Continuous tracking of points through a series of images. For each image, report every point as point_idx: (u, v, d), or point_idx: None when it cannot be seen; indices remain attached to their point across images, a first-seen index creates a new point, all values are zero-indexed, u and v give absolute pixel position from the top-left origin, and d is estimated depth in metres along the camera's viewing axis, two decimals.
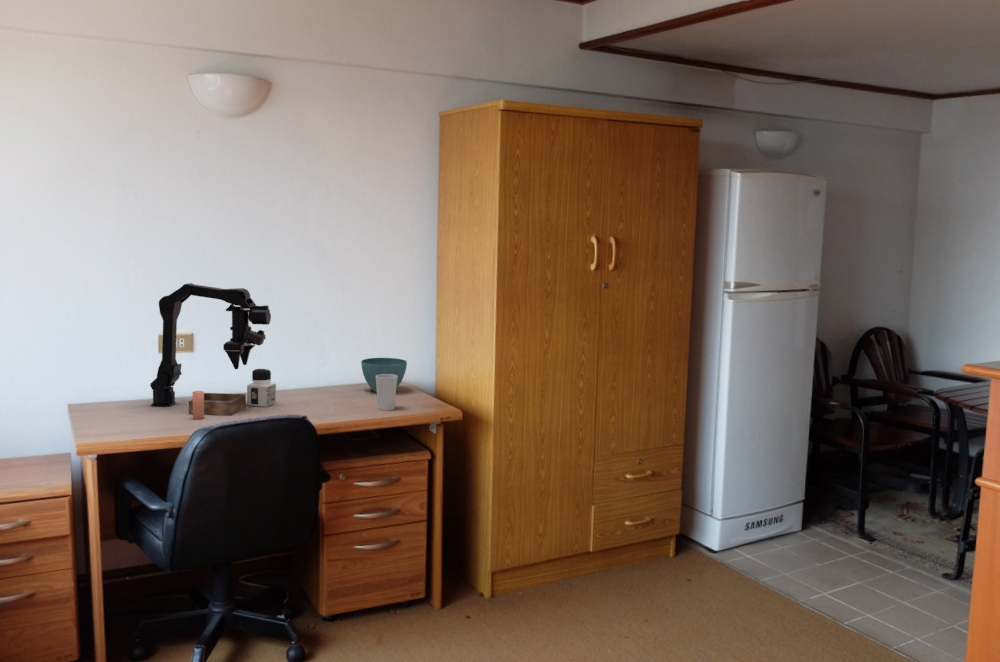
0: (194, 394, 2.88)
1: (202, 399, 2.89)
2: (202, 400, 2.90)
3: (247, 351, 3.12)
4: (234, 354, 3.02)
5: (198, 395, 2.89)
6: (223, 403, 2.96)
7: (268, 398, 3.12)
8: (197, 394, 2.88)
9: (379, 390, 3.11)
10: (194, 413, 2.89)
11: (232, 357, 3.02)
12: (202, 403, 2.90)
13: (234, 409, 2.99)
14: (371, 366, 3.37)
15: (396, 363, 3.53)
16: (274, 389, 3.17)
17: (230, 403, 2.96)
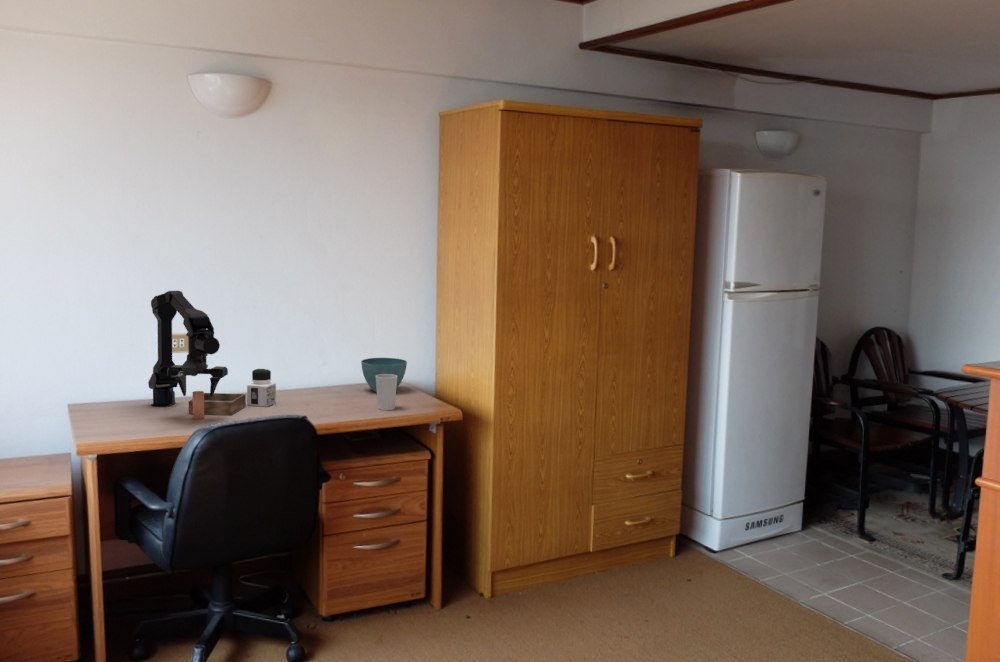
0: (194, 394, 2.88)
1: (202, 399, 2.89)
2: (202, 400, 2.90)
3: None
4: None
5: (198, 395, 2.89)
6: (223, 403, 2.96)
7: (268, 398, 3.12)
8: (197, 394, 2.88)
9: (379, 390, 3.11)
10: (194, 413, 2.89)
11: None
12: (202, 403, 2.90)
13: (234, 409, 2.99)
14: (371, 366, 3.37)
15: (396, 363, 3.53)
16: (274, 389, 3.17)
17: (230, 403, 2.96)
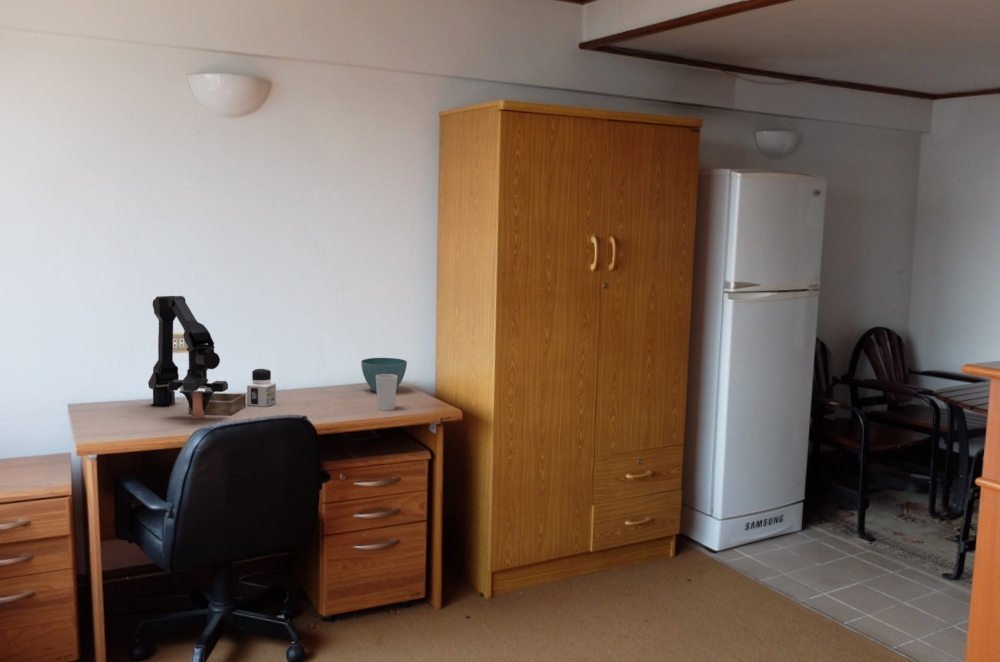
0: (194, 394, 2.88)
1: (202, 399, 2.89)
2: (202, 400, 2.90)
3: None
4: None
5: (198, 395, 2.89)
6: (223, 403, 2.96)
7: (268, 398, 3.12)
8: (197, 394, 2.88)
9: (379, 390, 3.11)
10: (194, 413, 2.89)
11: None
12: (202, 403, 2.90)
13: (234, 409, 2.99)
14: (371, 366, 3.37)
15: (396, 363, 3.53)
16: (274, 389, 3.17)
17: (230, 403, 2.96)
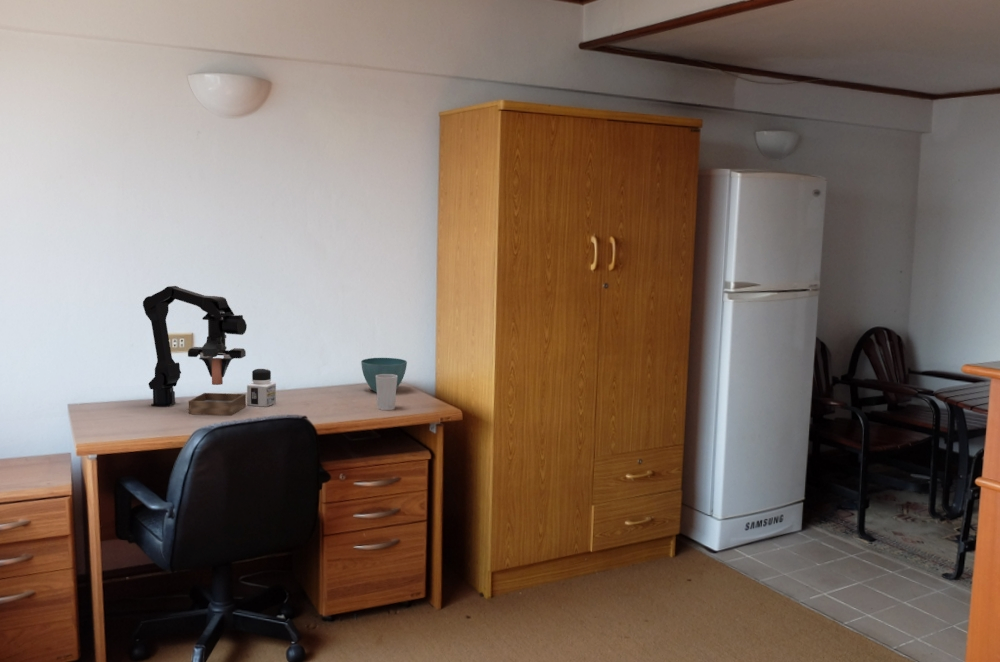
0: (213, 360, 3.00)
1: (220, 365, 3.01)
2: (221, 366, 3.01)
3: None
4: None
5: (217, 361, 3.00)
6: (223, 403, 2.96)
7: (268, 398, 3.12)
8: (216, 360, 3.00)
9: (379, 390, 3.11)
10: (213, 379, 3.01)
11: None
12: (221, 369, 3.02)
13: (234, 409, 2.99)
14: (371, 366, 3.37)
15: (396, 363, 3.53)
16: (274, 389, 3.17)
17: (230, 403, 2.96)
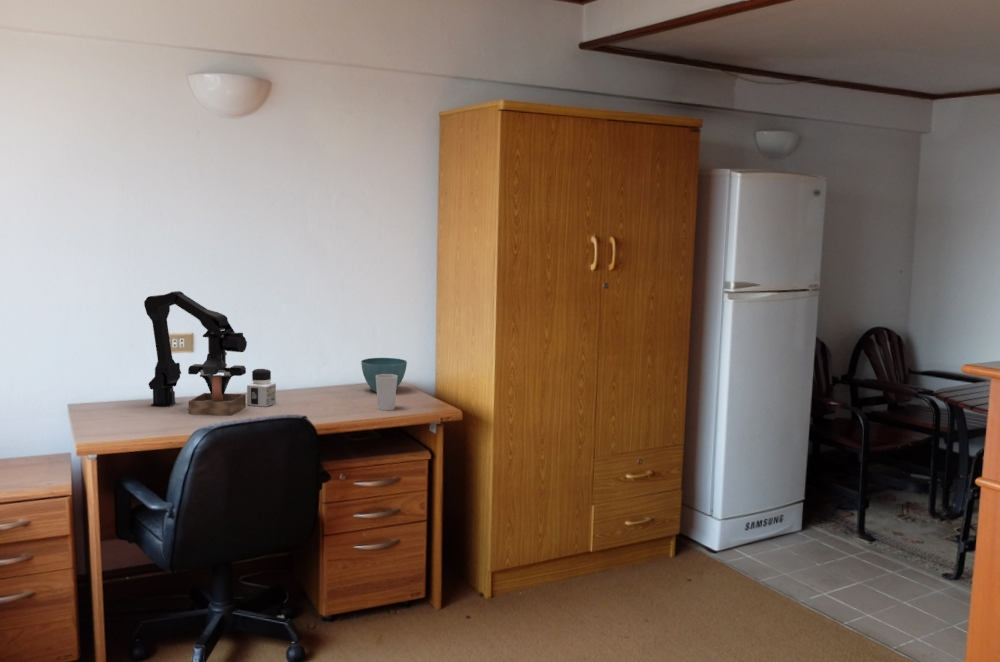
0: (213, 378, 3.01)
1: (221, 382, 3.02)
2: (221, 384, 3.02)
3: None
4: None
5: (218, 379, 3.01)
6: (223, 403, 2.96)
7: (268, 398, 3.12)
8: (216, 378, 3.01)
9: (379, 390, 3.11)
10: (213, 396, 3.02)
11: None
12: (221, 386, 3.02)
13: (234, 409, 2.99)
14: (371, 366, 3.37)
15: (396, 363, 3.53)
16: (274, 389, 3.17)
17: (230, 403, 2.96)
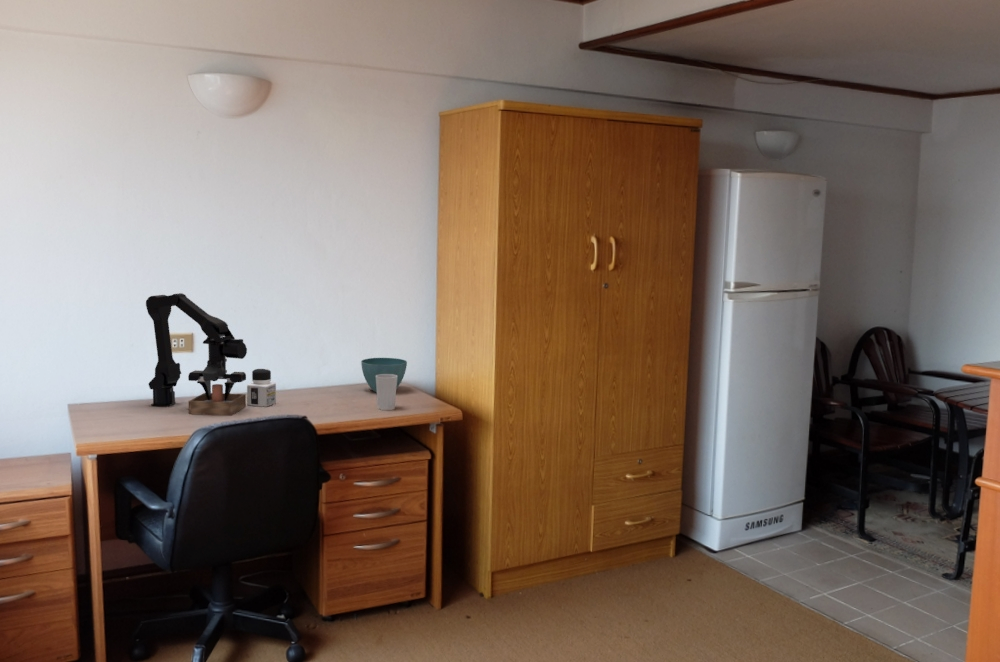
0: (213, 387, 3.01)
1: (221, 391, 3.02)
2: (221, 393, 3.03)
3: None
4: None
5: (218, 388, 3.01)
6: (223, 403, 2.96)
7: (268, 398, 3.12)
8: (216, 387, 3.01)
9: (379, 390, 3.11)
10: None
11: None
12: (221, 396, 3.03)
13: (234, 409, 2.99)
14: (371, 366, 3.37)
15: (396, 363, 3.53)
16: (274, 389, 3.17)
17: (230, 403, 2.96)
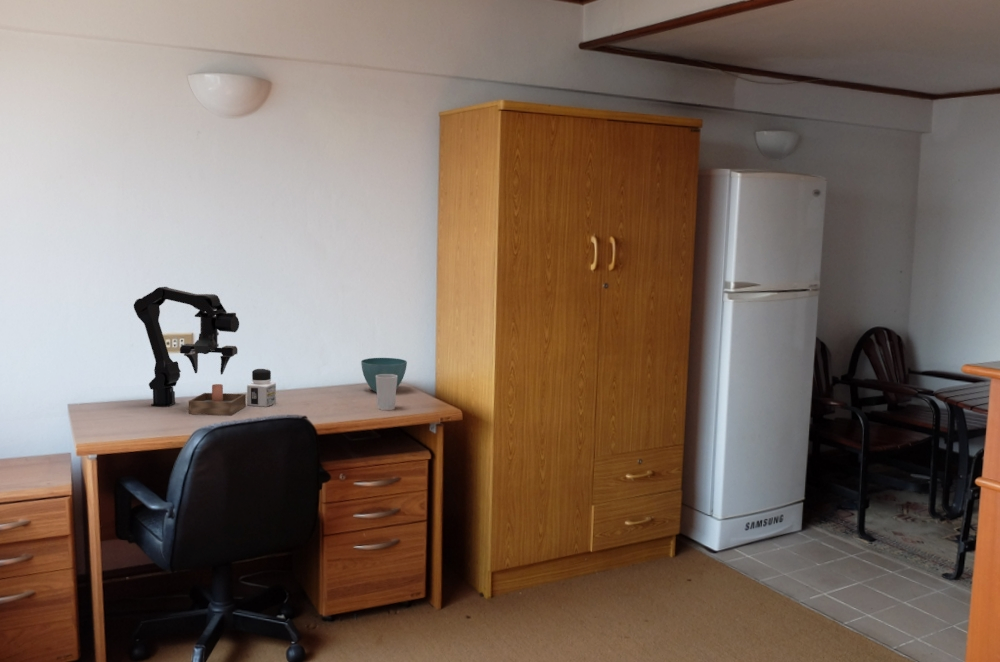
0: (213, 387, 3.01)
1: (221, 391, 3.02)
2: (221, 393, 3.03)
3: None
4: None
5: (218, 388, 3.01)
6: (223, 403, 2.96)
7: (268, 398, 3.12)
8: (216, 387, 3.01)
9: (379, 390, 3.11)
10: None
11: None
12: (221, 396, 3.03)
13: (234, 409, 2.99)
14: (371, 366, 3.37)
15: (396, 363, 3.53)
16: (274, 389, 3.17)
17: (230, 403, 2.96)
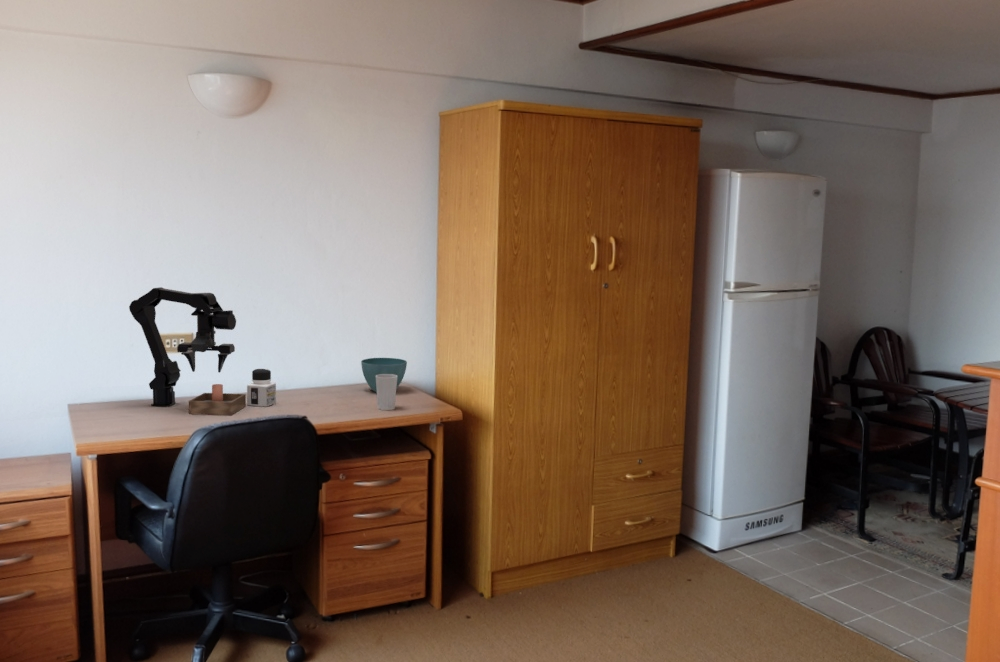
0: (213, 387, 3.01)
1: (221, 391, 3.02)
2: (221, 393, 3.03)
3: None
4: None
5: (218, 388, 3.01)
6: (223, 403, 2.96)
7: (268, 398, 3.12)
8: (216, 387, 3.01)
9: (379, 390, 3.11)
10: None
11: None
12: (221, 396, 3.03)
13: (234, 409, 2.99)
14: (371, 366, 3.37)
15: (396, 363, 3.53)
16: (274, 389, 3.17)
17: (230, 403, 2.96)
